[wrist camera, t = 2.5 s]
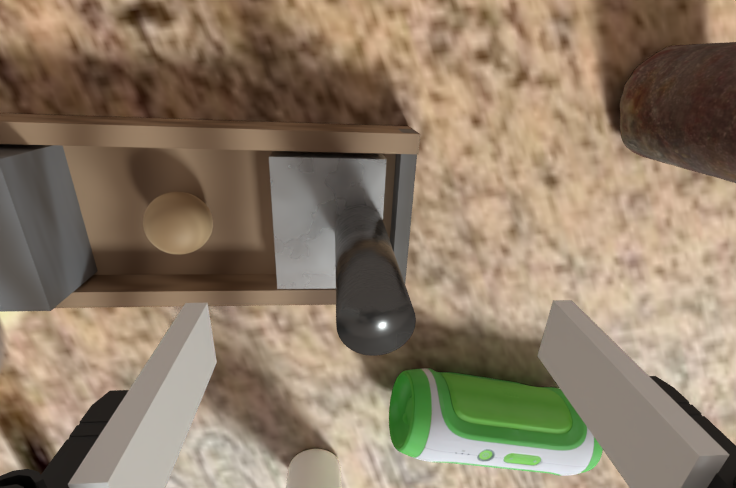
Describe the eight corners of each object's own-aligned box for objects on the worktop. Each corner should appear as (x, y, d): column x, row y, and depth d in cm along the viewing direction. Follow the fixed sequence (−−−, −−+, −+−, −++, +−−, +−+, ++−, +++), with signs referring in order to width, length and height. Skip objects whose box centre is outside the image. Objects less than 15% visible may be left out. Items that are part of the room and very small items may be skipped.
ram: (281, 272, 28) (246, 411, 17) (274, 149, 25) (222, 217, 13) (376, 271, 29) (406, 405, 17) (383, 152, 25) (426, 219, 14)
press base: (57, 279, 29) (-13, 332, 23) (2, 113, 24) (-106, 126, 18) (396, 277, 31) (411, 324, 25) (408, 126, 26) (430, 141, 21)
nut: (164, 239, 27) (138, 265, 23) (153, 183, 25) (123, 202, 22) (223, 239, 27) (206, 265, 24) (216, 184, 26) (197, 203, 22)
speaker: (382, 405, 37) (393, 479, 30) (404, 346, 35) (422, 413, 28) (540, 426, 41) (582, 497, 34) (571, 373, 38) (624, 440, 31)
